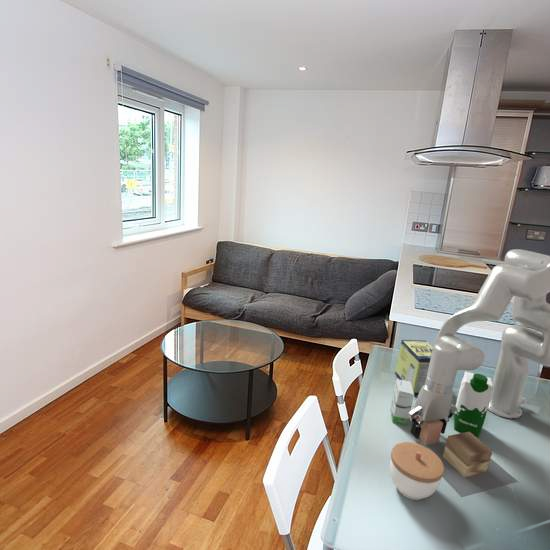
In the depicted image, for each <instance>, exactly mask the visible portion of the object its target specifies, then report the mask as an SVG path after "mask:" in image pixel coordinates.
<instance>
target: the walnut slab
mask: <svg viewBox="0 0 550 550" xmlns="http://www.w3.org/2000/svg"><path fill="white" fill-rule="evenodd" d="M446 441H447V442H446V445H445V446H446V447H447V448H448V449H449V450H450V451H451V452H452V453H453V454H454V455H455V456H456V457H458V458H459V459H460V460H461V461H462V462H463V463H464V464H465V465H466V466H467V467H468V466H472V465H476V464H480V463H485V462H489V461H490V458H491V457H492V454H493V450H492V449H491V448H490V447H489V446H487V445H486V444H485V443H484V442H483V441H482V440H480V439H479V437H475V436H474V435H473V434H472V433H470V432H465V433H462V432H460V433H456V434H449V435H447V438H446ZM491 459H492V458H491Z"/></svg>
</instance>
